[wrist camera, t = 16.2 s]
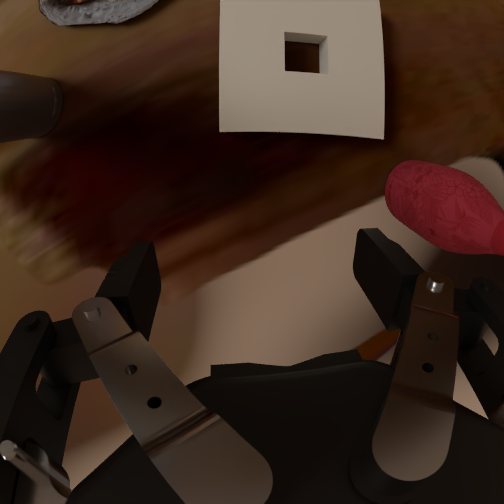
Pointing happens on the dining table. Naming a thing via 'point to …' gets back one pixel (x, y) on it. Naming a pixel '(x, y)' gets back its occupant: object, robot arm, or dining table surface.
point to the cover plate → (301, 83)
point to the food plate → (92, 10)
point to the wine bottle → (446, 207)
